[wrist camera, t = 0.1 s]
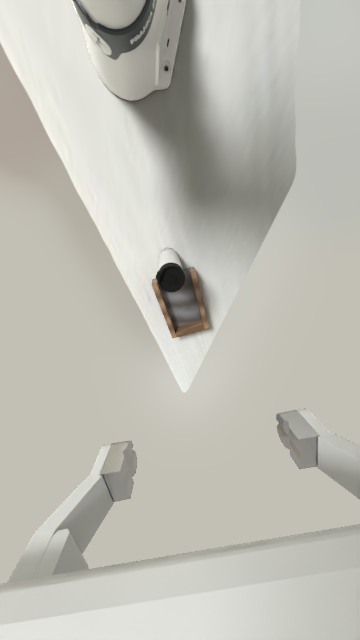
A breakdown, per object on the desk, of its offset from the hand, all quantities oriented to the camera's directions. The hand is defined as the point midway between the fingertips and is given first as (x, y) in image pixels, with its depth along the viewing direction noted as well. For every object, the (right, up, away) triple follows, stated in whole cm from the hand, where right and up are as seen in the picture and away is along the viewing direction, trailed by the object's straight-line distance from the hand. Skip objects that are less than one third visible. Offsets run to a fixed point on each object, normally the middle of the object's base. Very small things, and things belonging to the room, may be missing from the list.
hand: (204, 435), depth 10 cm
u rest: (-1, +13, +53) cm, 55 cm away
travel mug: (-5, +26, +45) cm, 52 cm away
